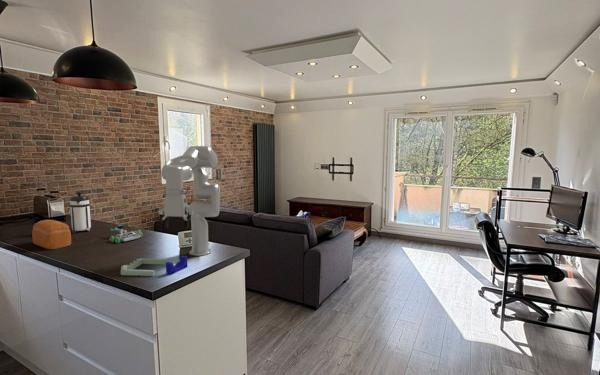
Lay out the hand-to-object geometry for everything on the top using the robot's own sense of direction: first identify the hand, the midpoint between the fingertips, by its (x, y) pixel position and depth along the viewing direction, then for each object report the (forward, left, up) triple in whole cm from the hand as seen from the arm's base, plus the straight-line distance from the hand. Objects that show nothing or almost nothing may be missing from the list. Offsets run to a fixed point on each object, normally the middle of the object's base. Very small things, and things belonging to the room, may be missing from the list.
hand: (176, 228), depth 152 cm
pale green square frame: (-10, -21, -25) cm, 34 cm away
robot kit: (-65, -70, -25) cm, 99 cm away
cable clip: (-10, -6, -25) cm, 28 cm away
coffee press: (-83, -115, -25) cm, 144 cm away
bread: (-47, -107, -25) cm, 119 cm away
